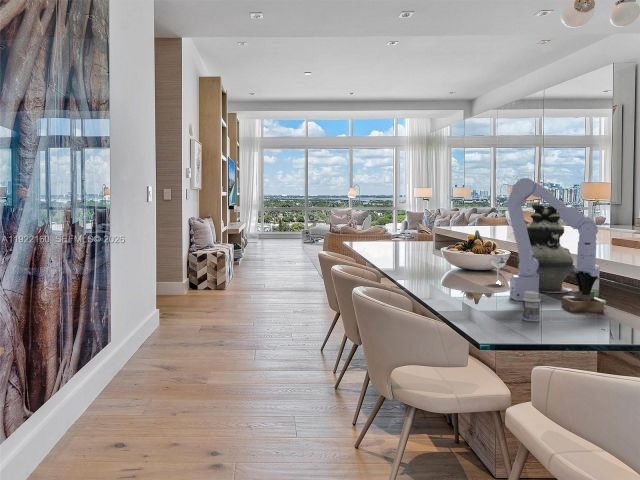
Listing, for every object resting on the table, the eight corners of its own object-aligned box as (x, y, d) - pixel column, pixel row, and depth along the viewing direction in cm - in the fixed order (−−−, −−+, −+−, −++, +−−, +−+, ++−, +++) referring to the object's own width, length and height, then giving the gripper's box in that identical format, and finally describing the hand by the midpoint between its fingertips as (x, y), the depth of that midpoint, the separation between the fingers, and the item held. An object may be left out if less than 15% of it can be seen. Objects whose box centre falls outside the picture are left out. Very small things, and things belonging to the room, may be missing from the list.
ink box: (599, 297, 190) (600, 266, 189) (584, 296, 192) (585, 265, 191) (594, 293, 198) (595, 263, 197) (580, 292, 200) (581, 263, 199)
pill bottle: (525, 317, 153) (526, 290, 153) (541, 319, 151) (542, 292, 150) (520, 320, 150) (521, 292, 149) (536, 322, 147) (537, 294, 146)
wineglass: (486, 281, 225) (487, 255, 224) (499, 281, 227) (500, 255, 226) (496, 284, 219) (497, 256, 218) (509, 283, 221) (510, 256, 220)
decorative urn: (528, 285, 221) (529, 205, 219) (579, 290, 206) (581, 204, 204) (507, 289, 205) (508, 204, 204) (561, 295, 191) (563, 203, 189)
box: (571, 312, 162) (571, 301, 162) (561, 307, 170) (561, 297, 169) (603, 312, 161) (604, 302, 161) (592, 307, 169) (592, 297, 169)
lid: (573, 302, 171) (573, 293, 171) (563, 298, 180) (563, 289, 179) (605, 303, 170) (606, 293, 170) (594, 298, 179) (594, 289, 178)
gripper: (608, 257, 166) (606, 298, 167) (589, 253, 181) (587, 290, 182) (586, 257, 167) (584, 297, 168) (568, 253, 181) (567, 290, 182)
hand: (584, 294), depth 175 cm, fingers closed on lid, 2 cm apart
